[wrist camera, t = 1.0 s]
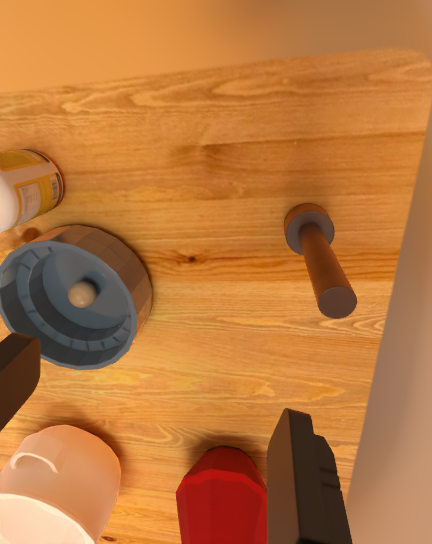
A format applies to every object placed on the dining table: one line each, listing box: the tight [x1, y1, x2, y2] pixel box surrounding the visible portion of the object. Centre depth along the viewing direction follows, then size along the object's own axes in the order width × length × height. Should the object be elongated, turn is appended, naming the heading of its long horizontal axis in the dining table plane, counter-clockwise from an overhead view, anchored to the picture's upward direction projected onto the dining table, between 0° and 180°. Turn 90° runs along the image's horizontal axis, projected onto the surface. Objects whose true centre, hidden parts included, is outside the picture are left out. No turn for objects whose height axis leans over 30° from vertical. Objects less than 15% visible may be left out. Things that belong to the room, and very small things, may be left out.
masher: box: [284, 204, 357, 319], centre depth 27 cm, size 4×4×16 cm
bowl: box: [0, 225, 152, 370], centre depth 38 cm, size 15×15×6 cm
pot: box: [0, 424, 121, 544], centre depth 48 cm, size 22×17×12 cm
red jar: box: [176, 446, 267, 544], centre depth 42 cm, size 16×14×20 cm
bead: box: [68, 281, 96, 308], centre depth 39 cm, size 3×3×3 cm
